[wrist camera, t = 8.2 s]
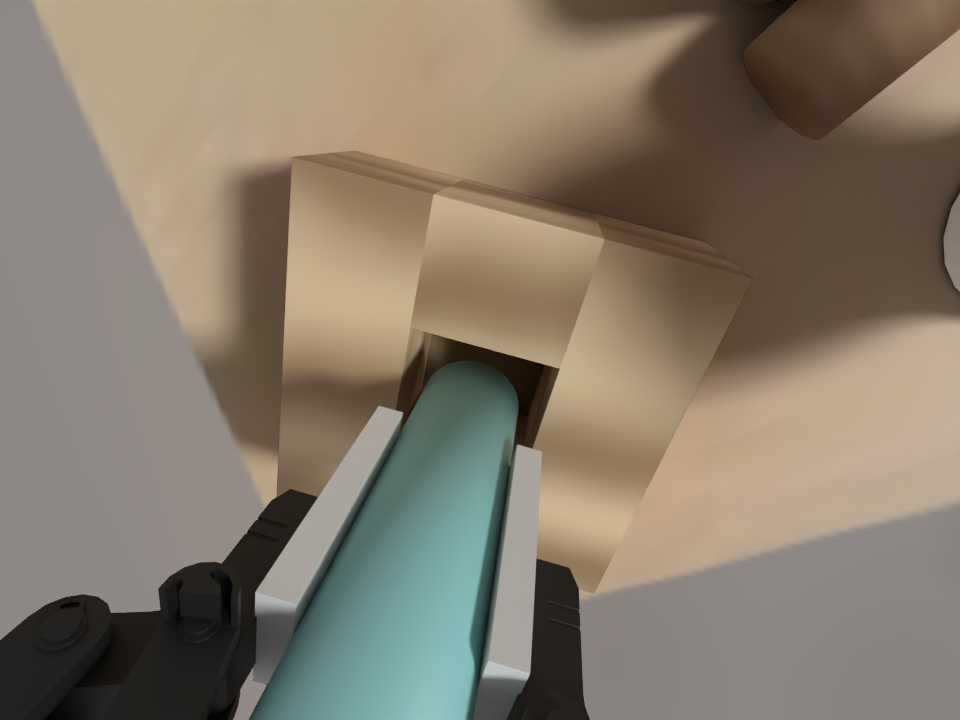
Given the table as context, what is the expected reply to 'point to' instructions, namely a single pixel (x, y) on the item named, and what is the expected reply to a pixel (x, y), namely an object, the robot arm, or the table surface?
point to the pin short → (753, 2)
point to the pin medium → (842, 55)
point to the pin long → (411, 569)
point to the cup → (953, 244)
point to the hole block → (496, 330)
